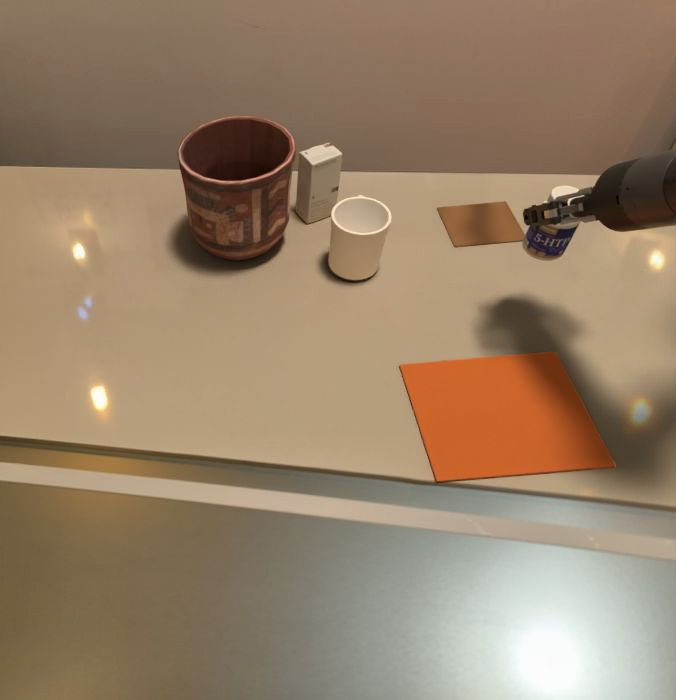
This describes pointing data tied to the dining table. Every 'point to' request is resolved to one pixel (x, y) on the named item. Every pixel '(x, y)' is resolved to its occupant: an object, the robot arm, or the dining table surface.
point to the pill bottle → (551, 232)
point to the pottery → (237, 184)
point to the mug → (357, 237)
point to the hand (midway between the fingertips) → (547, 212)
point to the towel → (502, 417)
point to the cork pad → (481, 224)
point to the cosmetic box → (318, 182)
